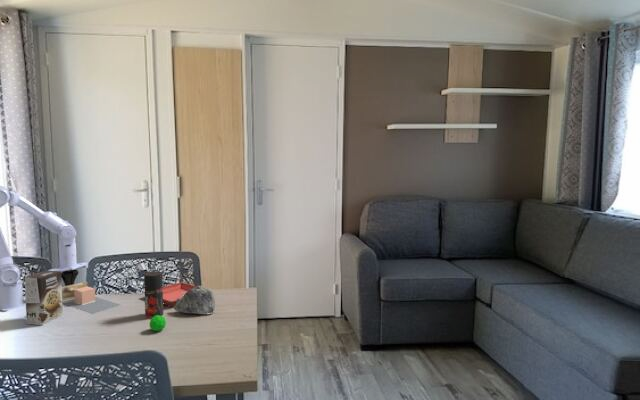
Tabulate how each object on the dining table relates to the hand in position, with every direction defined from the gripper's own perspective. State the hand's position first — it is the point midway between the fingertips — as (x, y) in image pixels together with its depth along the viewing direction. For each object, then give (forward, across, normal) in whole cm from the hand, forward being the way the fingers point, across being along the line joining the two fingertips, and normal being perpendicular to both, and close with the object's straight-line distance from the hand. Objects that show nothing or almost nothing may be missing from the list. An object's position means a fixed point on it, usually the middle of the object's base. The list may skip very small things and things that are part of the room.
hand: (69, 289), depth 171 cm
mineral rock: (+4, +16, -52) cm, 55 cm away
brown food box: (+4, -17, -16) cm, 23 cm away
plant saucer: (+4, +23, -34) cm, 41 cm away
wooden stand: (+3, 0, -3) cm, 4 cm away
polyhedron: (+4, -2, -54) cm, 54 cm away
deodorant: (+4, +6, -42) cm, 43 cm away
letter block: (+3, 0, -10) cm, 11 cm away
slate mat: (+3, 0, -12) cm, 12 cm away
